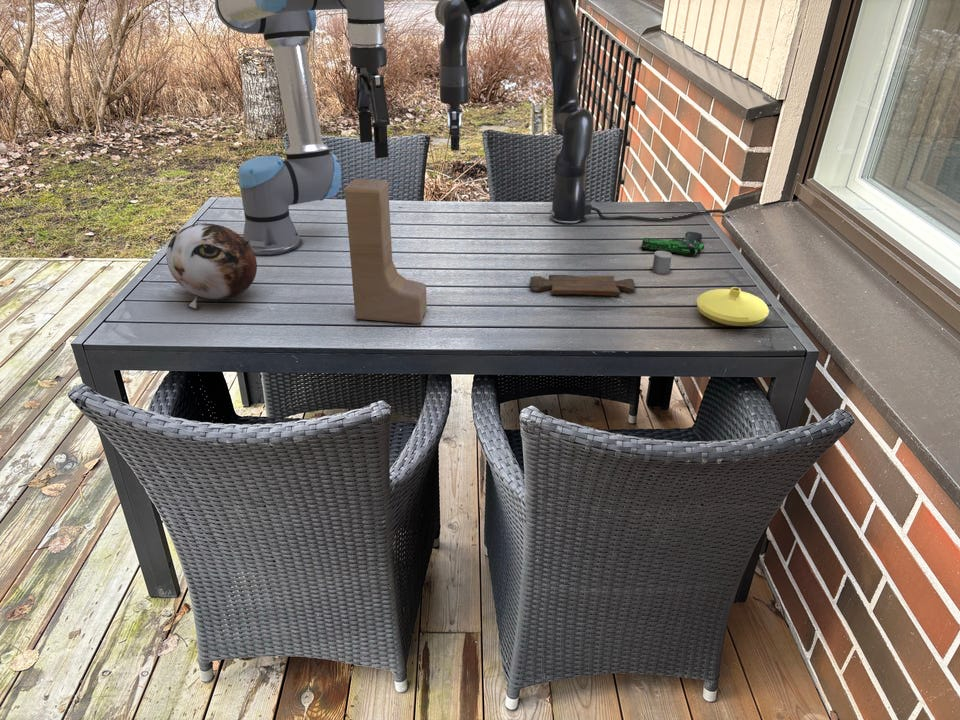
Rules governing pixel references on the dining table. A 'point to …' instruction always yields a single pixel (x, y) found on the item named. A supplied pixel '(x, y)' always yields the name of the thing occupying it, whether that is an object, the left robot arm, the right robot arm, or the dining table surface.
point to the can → (661, 262)
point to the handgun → (676, 244)
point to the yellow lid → (732, 307)
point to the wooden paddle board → (581, 285)
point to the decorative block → (378, 258)
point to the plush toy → (211, 261)
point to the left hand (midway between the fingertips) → (373, 149)
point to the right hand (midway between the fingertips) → (455, 146)
